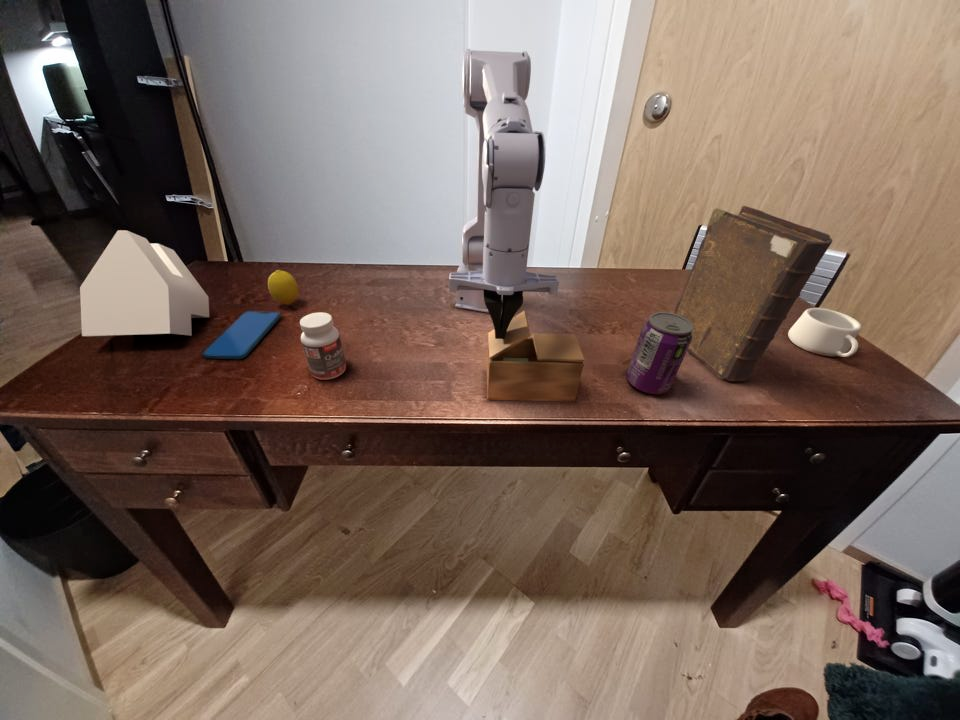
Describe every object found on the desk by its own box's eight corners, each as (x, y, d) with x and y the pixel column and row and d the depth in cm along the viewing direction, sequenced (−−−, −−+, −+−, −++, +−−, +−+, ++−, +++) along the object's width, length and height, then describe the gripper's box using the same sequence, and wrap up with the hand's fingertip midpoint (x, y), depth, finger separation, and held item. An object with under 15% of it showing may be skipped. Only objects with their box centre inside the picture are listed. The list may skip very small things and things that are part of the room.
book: (753, 383, 63) (844, 237, 48) (716, 386, 62) (797, 238, 47) (693, 331, 76) (750, 204, 61) (662, 333, 75) (711, 205, 60)
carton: (487, 400, 57) (489, 357, 52) (486, 372, 63) (488, 332, 58) (574, 401, 58) (585, 359, 53) (566, 374, 63) (575, 334, 58)
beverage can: (673, 400, 58) (702, 337, 51) (627, 393, 59) (650, 331, 52) (664, 373, 64) (690, 313, 57) (622, 367, 65) (642, 307, 58)
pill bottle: (336, 383, 59) (323, 331, 53) (304, 378, 60) (287, 327, 54) (352, 362, 64) (341, 312, 58) (322, 358, 64) (308, 308, 59)
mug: (775, 331, 77) (790, 305, 73) (819, 331, 77) (836, 306, 74) (819, 365, 67) (839, 338, 64) (869, 366, 68) (892, 339, 64)
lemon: (268, 307, 78) (256, 272, 74) (288, 297, 83) (278, 263, 78) (288, 313, 77) (277, 277, 72) (308, 302, 81) (298, 267, 76)
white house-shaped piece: (210, 337, 75) (206, 249, 75) (170, 333, 63) (165, 230, 64) (136, 340, 73) (132, 250, 73) (81, 336, 62) (77, 230, 62)
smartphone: (199, 354, 63) (245, 310, 75) (202, 359, 63) (247, 314, 75) (242, 356, 63) (281, 312, 75) (244, 360, 63) (283, 316, 75)
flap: (491, 359, 53) (489, 357, 52) (489, 334, 58) (488, 332, 58) (531, 336, 50) (529, 334, 50) (525, 312, 56) (524, 310, 55)
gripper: (446, 254, 43) (448, 349, 51) (570, 257, 43) (552, 351, 51) (450, 234, 48) (451, 323, 56) (559, 238, 49) (545, 325, 57)
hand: (499, 335), depth 54 cm, fingers closed
